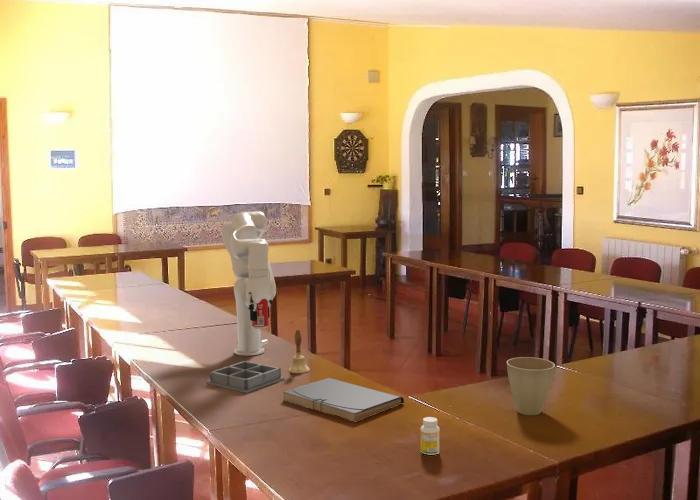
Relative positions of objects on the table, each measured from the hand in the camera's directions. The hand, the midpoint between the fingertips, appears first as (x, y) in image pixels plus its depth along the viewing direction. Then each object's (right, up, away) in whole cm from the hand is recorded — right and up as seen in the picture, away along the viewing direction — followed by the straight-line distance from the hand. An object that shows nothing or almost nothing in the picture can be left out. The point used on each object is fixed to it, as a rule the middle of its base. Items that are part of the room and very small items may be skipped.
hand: (260, 318), depth 298 cm
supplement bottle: (+57, -30, -85) cm, 106 cm away
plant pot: (+92, -25, -53) cm, 109 cm away
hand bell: (+15, -20, -2) cm, 25 cm away
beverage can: (0, -4, 0) cm, 4 cm away
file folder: (+32, -25, -41) cm, 58 cm away
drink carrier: (-3, -22, -16) cm, 27 cm away
